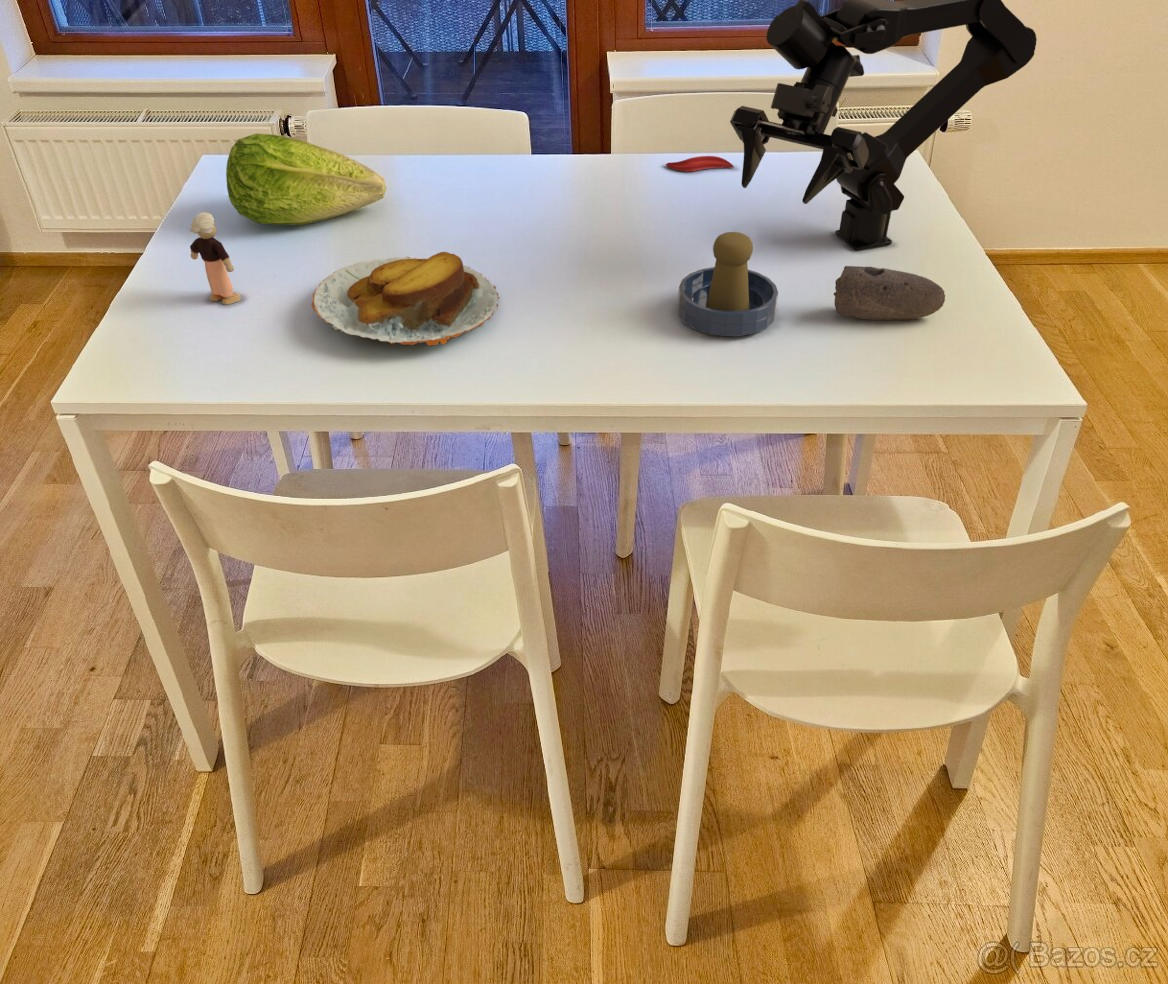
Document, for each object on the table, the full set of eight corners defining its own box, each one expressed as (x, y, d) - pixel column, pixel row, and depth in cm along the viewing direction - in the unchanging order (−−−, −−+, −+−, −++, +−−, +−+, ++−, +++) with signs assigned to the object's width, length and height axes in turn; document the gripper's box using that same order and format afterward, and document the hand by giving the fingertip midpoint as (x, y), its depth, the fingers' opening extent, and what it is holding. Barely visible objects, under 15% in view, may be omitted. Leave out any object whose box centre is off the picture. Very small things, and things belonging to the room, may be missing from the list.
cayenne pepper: (663, 169, 181) (664, 159, 180) (667, 159, 184) (667, 149, 183) (732, 174, 179) (733, 163, 178) (734, 164, 182) (735, 153, 181)
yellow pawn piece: (740, 325, 138) (748, 250, 131) (698, 316, 140) (704, 241, 133) (755, 305, 142) (763, 231, 135) (714, 296, 144) (720, 223, 137)
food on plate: (336, 269, 153) (329, 227, 149) (503, 269, 153) (501, 227, 148) (298, 360, 133) (289, 315, 129) (491, 360, 133) (488, 315, 129)
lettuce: (384, 241, 162) (385, 151, 156) (222, 229, 158) (217, 137, 152) (387, 220, 175) (388, 136, 169) (238, 209, 171) (234, 122, 165)
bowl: (747, 285, 148) (750, 260, 145) (791, 329, 138) (795, 303, 136) (663, 301, 145) (664, 275, 142) (701, 347, 135) (704, 320, 132)
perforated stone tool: (937, 310, 142) (948, 264, 138) (943, 329, 138) (954, 283, 134) (827, 304, 144) (834, 258, 139) (829, 323, 140) (837, 276, 135)
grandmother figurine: (253, 295, 147) (233, 211, 139) (238, 308, 144) (217, 223, 136) (207, 287, 149) (185, 204, 141) (191, 299, 146) (168, 215, 138)
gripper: (743, 44, 137) (695, 151, 137) (875, 69, 128) (823, 183, 128) (764, 88, 147) (720, 188, 147) (888, 114, 138) (841, 220, 138)
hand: (773, 194), depth 140 cm, fingers open, 9 cm apart
